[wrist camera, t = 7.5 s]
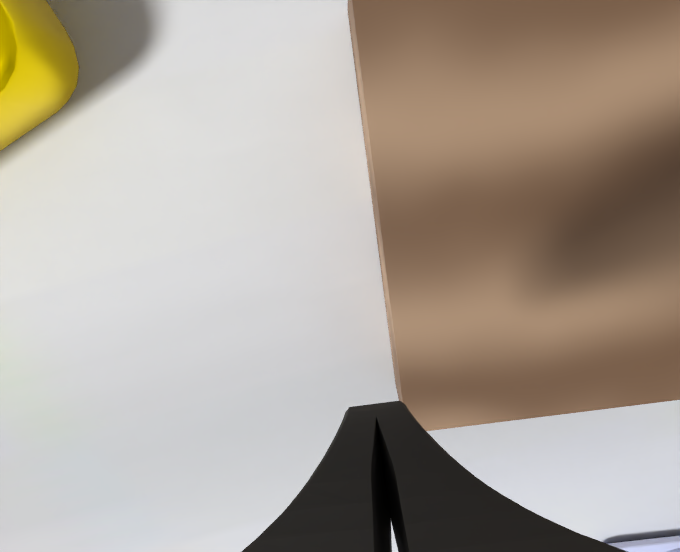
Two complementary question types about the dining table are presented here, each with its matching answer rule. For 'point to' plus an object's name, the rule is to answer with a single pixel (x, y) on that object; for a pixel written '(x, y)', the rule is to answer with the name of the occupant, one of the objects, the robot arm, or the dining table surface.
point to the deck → (524, 201)
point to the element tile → (32, 67)
